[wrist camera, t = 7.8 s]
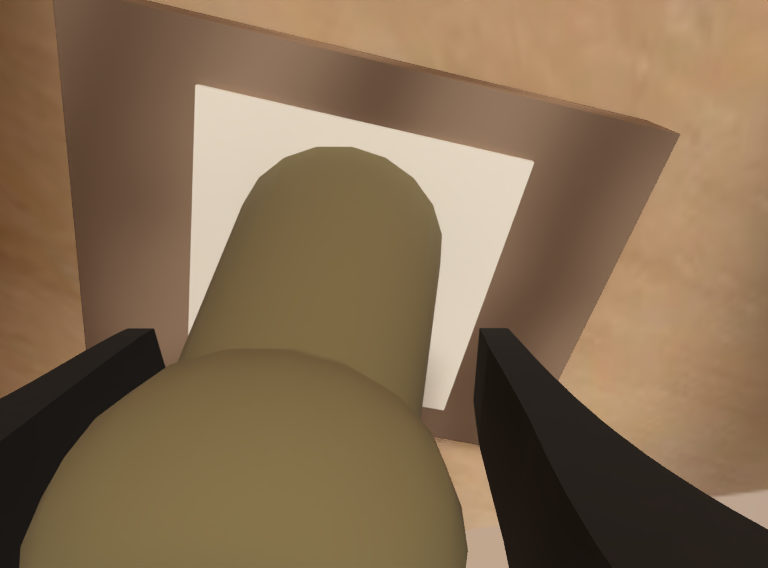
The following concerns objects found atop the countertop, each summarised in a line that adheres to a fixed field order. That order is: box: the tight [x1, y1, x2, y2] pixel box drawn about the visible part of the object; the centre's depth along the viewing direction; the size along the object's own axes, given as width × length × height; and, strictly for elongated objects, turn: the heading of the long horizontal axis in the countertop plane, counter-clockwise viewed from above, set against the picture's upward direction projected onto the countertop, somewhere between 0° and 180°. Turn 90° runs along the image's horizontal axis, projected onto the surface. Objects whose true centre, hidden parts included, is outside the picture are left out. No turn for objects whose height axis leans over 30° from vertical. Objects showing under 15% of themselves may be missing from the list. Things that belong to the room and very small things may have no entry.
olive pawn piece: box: [19, 147, 468, 568], centre depth 10 cm, size 6×6×11 cm
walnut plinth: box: [53, 0, 680, 445], centre depth 16 cm, size 16×12×2 cm
